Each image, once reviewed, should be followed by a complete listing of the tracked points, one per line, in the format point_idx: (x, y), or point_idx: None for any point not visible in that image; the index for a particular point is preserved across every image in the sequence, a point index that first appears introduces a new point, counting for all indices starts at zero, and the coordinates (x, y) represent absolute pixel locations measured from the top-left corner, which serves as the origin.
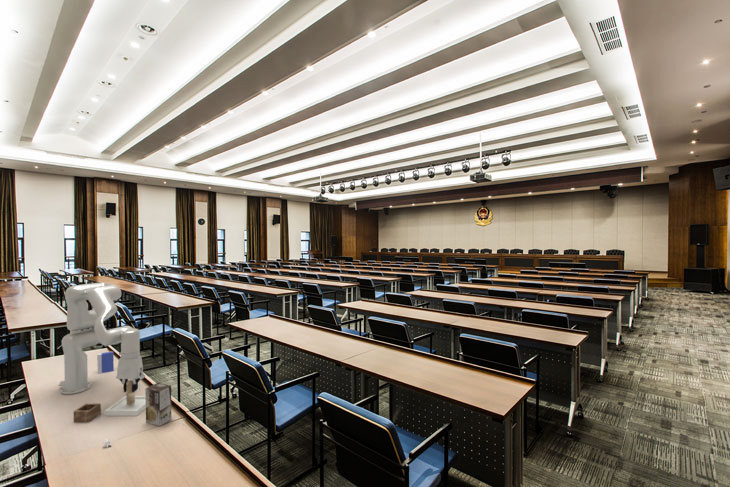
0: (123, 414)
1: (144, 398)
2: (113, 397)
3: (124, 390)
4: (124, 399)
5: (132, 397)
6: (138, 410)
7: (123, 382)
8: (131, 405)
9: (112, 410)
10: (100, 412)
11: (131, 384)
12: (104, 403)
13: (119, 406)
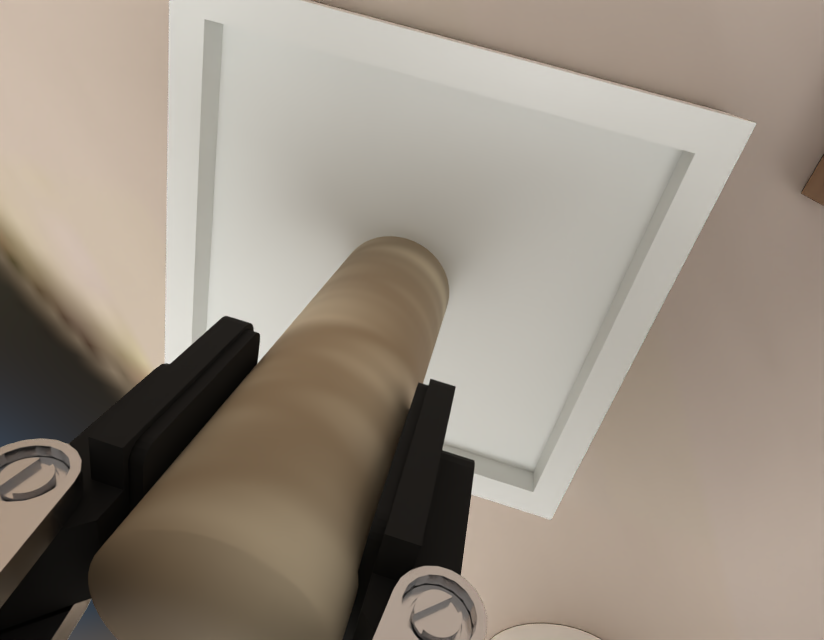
0: (421, 30)
1: None
2: (713, 589)
3: (431, 404)
4: (542, 455)
5: (317, 295)
6: (179, 13)
7: (425, 631)
8: None
9: (612, 88)
10: (820, 190)
11: (170, 475)
12: (799, 488)
13: (553, 279)
